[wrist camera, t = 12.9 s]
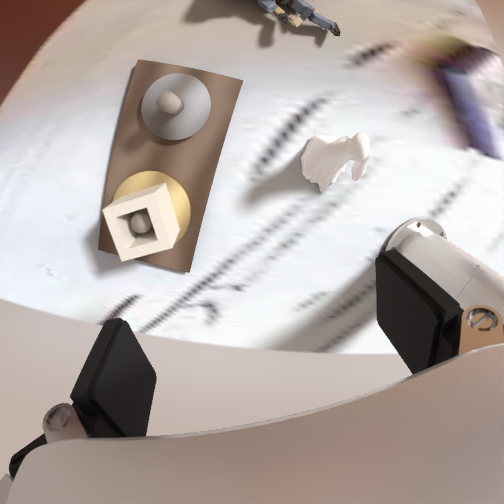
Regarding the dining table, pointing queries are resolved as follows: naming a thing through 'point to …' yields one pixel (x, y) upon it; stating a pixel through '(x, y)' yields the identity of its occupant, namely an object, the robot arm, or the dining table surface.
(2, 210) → the dining table surface
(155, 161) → the workboard
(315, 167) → the figurine
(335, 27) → the toy
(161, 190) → the collar
